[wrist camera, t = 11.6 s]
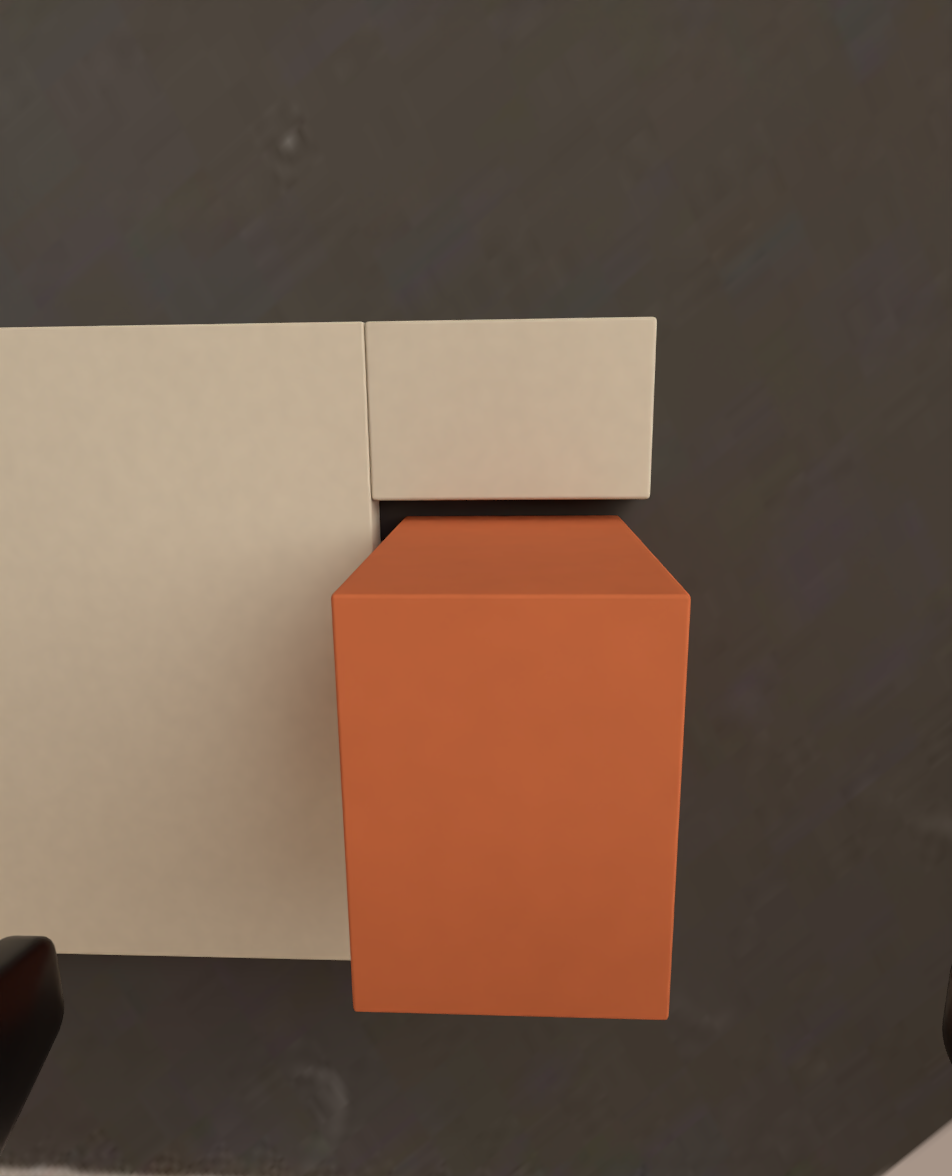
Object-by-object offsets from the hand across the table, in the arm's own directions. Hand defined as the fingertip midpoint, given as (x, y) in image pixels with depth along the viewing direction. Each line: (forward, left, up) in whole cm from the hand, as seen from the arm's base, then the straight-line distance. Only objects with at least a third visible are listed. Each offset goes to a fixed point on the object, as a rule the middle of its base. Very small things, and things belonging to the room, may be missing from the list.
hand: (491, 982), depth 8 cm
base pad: (+5, +4, -10) cm, 12 cm away
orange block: (0, 0, -10) cm, 10 cm away
